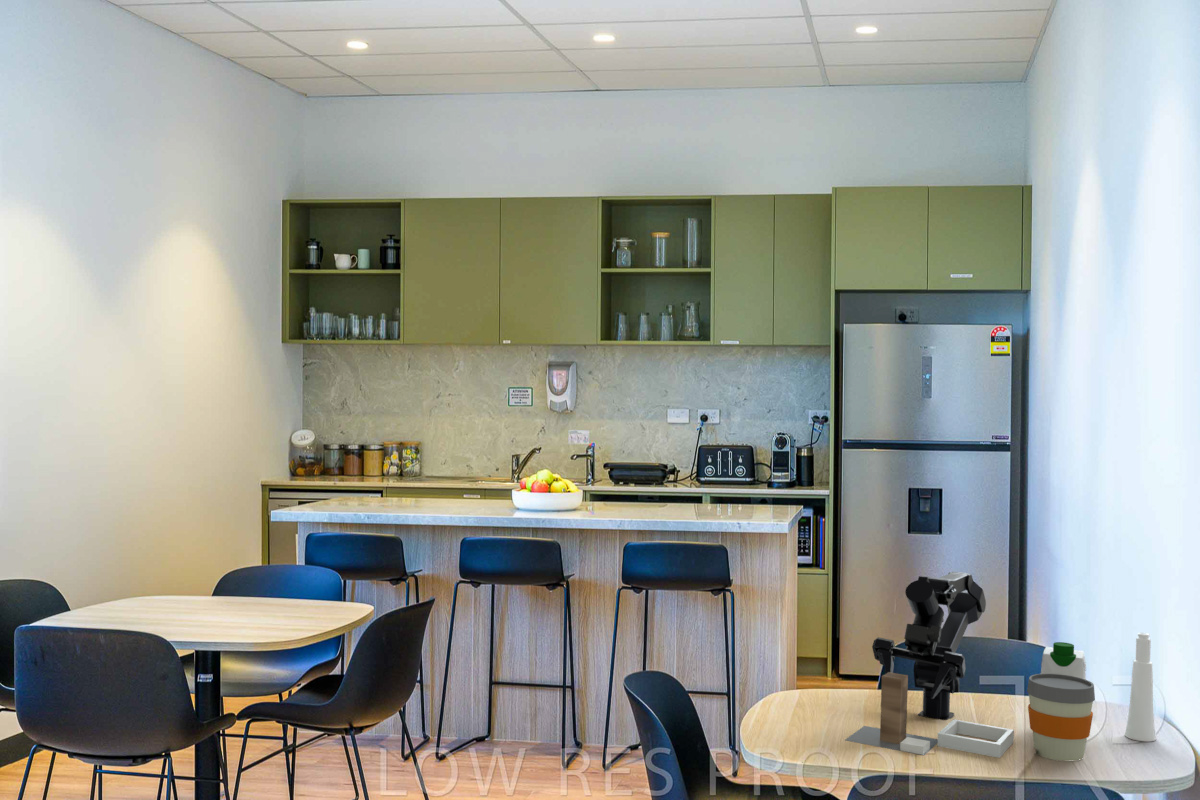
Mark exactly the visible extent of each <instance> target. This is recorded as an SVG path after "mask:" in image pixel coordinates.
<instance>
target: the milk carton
mask: <svg viewBox="0 0 1200 800" xmlns="http://www.w3.org/2000/svg"><path fill="white" fill-rule="evenodd" d="M1052 644H1053V647H1050V646H1045V648H1044V649H1043V651H1042V652H1043V653H1042V658H1041V663H1040V665H1041V668H1040V669H1041V670H1040V674H1061V675H1068V676H1074V677H1078V678H1082V679H1085V680H1087V678H1086V677H1087V676H1086V675H1087V674H1086V672H1087V664H1086V663H1087V662H1086V657H1085V650H1078V649H1077V650H1076V649H1075V645H1074V644H1073V643H1069V642H1060V641H1058V642H1055V641H1054V643H1052Z"/></svg>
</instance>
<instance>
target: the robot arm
mask: <svg viewBox="0 0 1200 800" xmlns="http://www.w3.org/2000/svg"><path fill="white" fill-rule="evenodd" d="M905 596H906V599H907V601H908V604H909V607H910V609H911V611H912V613H913V614H915V616H914V619H913V622H912V623H907V624H906V627H905V633H904V646H906V648H902V647H896V646H895V641H894V639H889V638H885V637H884V638H883V637H878V636H877V638H875V639H874V640H873V643H872V646H871V647H872V653H873V657H874V659H875V660H877V661H879V664H880V665H882V666H884V673H885V674H886V673H888V672H891V673H894V667H895V665H894V661H895V658H901V659H905V660H910V661H914V663H913V679H914V688H917V689H918V688H920V689H922V692H923V693H922V710H921V711H920V712H918V713H917V716H919V717H923V718H930V719H936V720H941V721H948V720H949V719H952V718H953V717H954V716H955V712H951V711H950V705H951V694H955V693H956V694H957V693H960V679H964V678H965V674H966V660H965V659H966V658H965V656H964V655H963V654H962V653H957V650H958V648H959V646H960V643H961V642H962V639H963V637H964V635H965V632H966V631H967V627H968V625H971V624H973V623H975V622H978V621H979V619H980V618H981V617H982V615H983V613H985V611H986V607H987V601H986V597H985V593H984V590H983V588H982V587H981V586H980V585H979V584H978V583H977V582H975V581H974V578H973V576H972V574H971V573H968V572H960V571H949V572H948V574H945V575H943V576H940V577H931V576H918V579H917V580H914V581H912V582H910V584H908V585H907V586H906V587H905ZM940 605H941V606H940ZM942 606H946V608H947V613H948V615H947V617H946V619H945V620H944V616H945V611H944V609H943V608H942ZM943 622H944V624H943ZM885 674H884V675H885Z"/></svg>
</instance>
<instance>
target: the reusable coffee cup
mask: <svg viewBox="0 0 1200 800" xmlns="http://www.w3.org/2000/svg"><path fill="white" fill-rule="evenodd" d="M1027 681H1028V682H1027V688H1026V690H1027V691H1026V692H1027V694H1028V700H1029V704H1028V706H1027V710H1028V719H1029V720H1028V721H1029V728H1030V731H1032V738H1033V739H1032V740H1033V747H1034V749H1036V751H1035V752H1034V753H1035V754H1037V755H1038V756H1040V757H1042V758H1046V759H1048V760H1049V759H1050V760H1053V761H1058V760H1079V759H1082V758H1083V759H1084V756H1085V749H1086V744H1087V738H1089V737H1090V735H1091V729H1092V722H1093V716H1094V713H1093V711H1092V708H1093V703H1094V702H1095V700H1096V694H1095V684H1094V682H1093V681H1090V680H1087V679H1086V680H1085V679H1082V678H1078V677H1074V676H1068V675H1061V674H1041V673H1036V674H1032V675H1030V676H1029V678H1028V680H1027ZM1083 759H1082V760H1083ZM1079 761H1080V760H1079Z"/></svg>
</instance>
